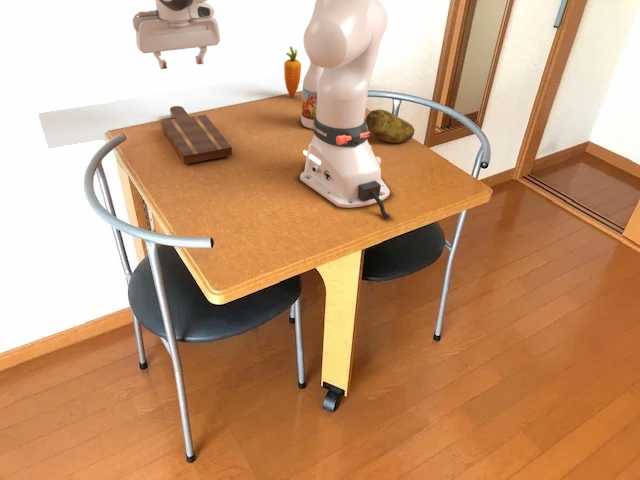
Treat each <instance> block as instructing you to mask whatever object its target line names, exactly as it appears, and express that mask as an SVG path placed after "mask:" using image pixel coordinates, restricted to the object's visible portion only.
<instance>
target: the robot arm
mask: <svg viewBox="0 0 640 480" xmlns="http://www.w3.org/2000/svg"><path fill="white" fill-rule="evenodd" d="M155 7H156V8H155V10H154V9H153V10H147V11H138V12H137V13H136V14H135V15H133V17H132V24H133V26H132V27H133V29H134V30H135V40H136V47H137V49H138V50H139V51H140V52H141V53H142V54H150V53H151V54H153V55H154V57H155V58H156V60H157V61H158V66H159V68H160V70H165V69H168V66H167V61H166V60H165V59H161V56H162V53H161V52H168V51H177V50H185V49H196V48H198V49H199V53H198V55H195V56H194V57H195V63H196V65H204V57H205V55H206V54H207V51H208V47H212V46H218V45H219V43H220V41H221V33H220V28H219V23H218V20H217V19H216V17H214V16H215V9H214V7H213V6H212V5H211V4H209V3H208V2H207V0H155ZM387 26H388V14H387V10H386V8H385V6H384V5H383V4H382V2H381V1H380V0H315V2H314V7H313V12H312V15H311V17H310V20H309V23H308V24H307V26H306V28H305V30H304V34H303V39H302V40H303V47H304V48H303V49H304V51H305V54H306V56H307V57H308V59H309V61H310V60H311V61H312V62H313V63H314V64H316V65H317V66H319V67H322V68H324V70H323V73H322V75H321V77H320V79H319V82H318V90H317V106H316V114H315V116H314V121H313V129H312V132H313V136H312V139H311V141H310V142H309V144H308V145H307V150H305V149H304V150H303V155H305V156H306V157H305V165H304V171H302V172H301V173H300V176H299V180H300V181H301V182H302V183H304V184H305V185H306V186H308V187H310V188H311V189H312V190H314V191H315V192H317V193H318V194H319V195H320V196H322V197H323V198H325V199H326V200H327V201H329V202H331V203H332V204H334V205H335V206H336V207H338V208H348V209H349V208H351V209H352V208H360V207H365V206H369V205H373V204H376V203H377V205H378V206H379V210H380V214H381V216H383V217H384V218H385V219H387V220H388V219H390V216H391V215H389V214H388V213H387V212H386V209H385V205H384V203H383V202H382V201H384V200H386V199H387V198H388V197H389V196H390V194H391V191H390V189H389V187H388V186H387V185H386V183H385V181H383V179H382V170H381V164H382V160H381V157H380V156H375V153H374V151H373V148H372V145H371V144H370V143H369V140H368V137H370V135H369V134H370V133H371V132H370V131H368V127H367V124H366V112H367V111H366V110H367V102H368V94H369V87H370V84H371V79H372V76H373V73H374V70H375V69H374V68H375V65H376V62H377V58H378V55H379V50H380V46H381V43H382V39H383V36H384V34H385V32H386V29H387Z"/></svg>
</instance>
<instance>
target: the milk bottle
mask: <svg viewBox="0 0 640 480" xmlns="http://www.w3.org/2000/svg"><path fill="white" fill-rule="evenodd" d="M323 70H324V68H322V67H319V66H317V65H316V64H314V63H313V62H312V61H311V60H310V59H309V67H308V69H307V71H306V73H305V75H304V78H303V81H302V93H301V117H300V122H301V125H302V126H303V127H305V128H307V129H312V130H313V121H314V116H315V114H316V106H317V90H318V82H319V79H320V77H321V75H322V73H323Z"/></svg>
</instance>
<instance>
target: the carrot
mask: <svg viewBox="0 0 640 480" xmlns="http://www.w3.org/2000/svg"><path fill="white" fill-rule="evenodd" d="M289 51H290V52H286V56H288V57H289V59H287V60H285V61H284V64H283V67H284V68H283V72H284V74H283V76H284V83H285V88H286V91H287V93H288V96H289V97H290V98H293V97H295V95H296V93H297V91H298V89H299V85H300V80H301V74H302V63H301V62H300V60H299V59H296V58H297V56H298V50H297V49H295V48H294V47H293V46H289Z"/></svg>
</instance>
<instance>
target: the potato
mask: <svg viewBox="0 0 640 480" xmlns="http://www.w3.org/2000/svg"><path fill="white" fill-rule="evenodd" d="M365 119H366V125H367V131H368V132H370V133H371V134H372V135H374V136H375V137H377V138H380V139H381V140H383V141H385V142H387V143H391V144H400V143H401V144H402V143H404V142H407V141H410V140H411V139H413V137H414V135H415V128H414V126H413V124H411V123H409V122H408V121H407V120H404V119H403V118H400V117H399V116H397V115H395V114H394V113H391V112H390V111H388V110H385V109H381V108H380V109H373V110H371V111H370V112H369V113H368V114H367V116H365Z"/></svg>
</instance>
